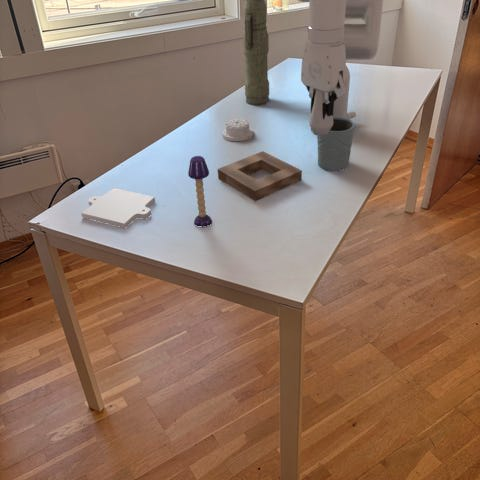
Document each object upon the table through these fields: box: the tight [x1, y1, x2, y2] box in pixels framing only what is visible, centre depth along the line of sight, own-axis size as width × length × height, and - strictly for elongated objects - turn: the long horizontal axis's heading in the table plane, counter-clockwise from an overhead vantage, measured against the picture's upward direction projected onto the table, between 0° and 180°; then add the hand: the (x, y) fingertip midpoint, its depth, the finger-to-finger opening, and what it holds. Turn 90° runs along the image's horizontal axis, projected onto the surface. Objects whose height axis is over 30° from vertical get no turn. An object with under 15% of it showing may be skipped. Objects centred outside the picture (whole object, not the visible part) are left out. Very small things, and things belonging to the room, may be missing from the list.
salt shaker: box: [308, 88, 333, 135], centre depth 113 cm, size 6×6×13 cm
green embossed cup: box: [316, 117, 356, 172], centre depth 131 cm, size 10×10×12 cm
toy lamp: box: [187, 155, 213, 228], centre depth 109 cm, size 5×5×17 cm
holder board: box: [217, 150, 303, 202], centre depth 129 cm, size 16×16×3 cm
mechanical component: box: [221, 118, 254, 142], centre depth 153 cm, size 10×4×10 cm
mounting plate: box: [81, 187, 156, 229], centre depth 120 cm, size 18×13×2 cm
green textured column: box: [242, 0, 270, 106], centre depth 168 cm, size 9×12×35 cm
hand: (321, 114), depth 115 cm, fingers closed on salt shaker, 3 cm apart
